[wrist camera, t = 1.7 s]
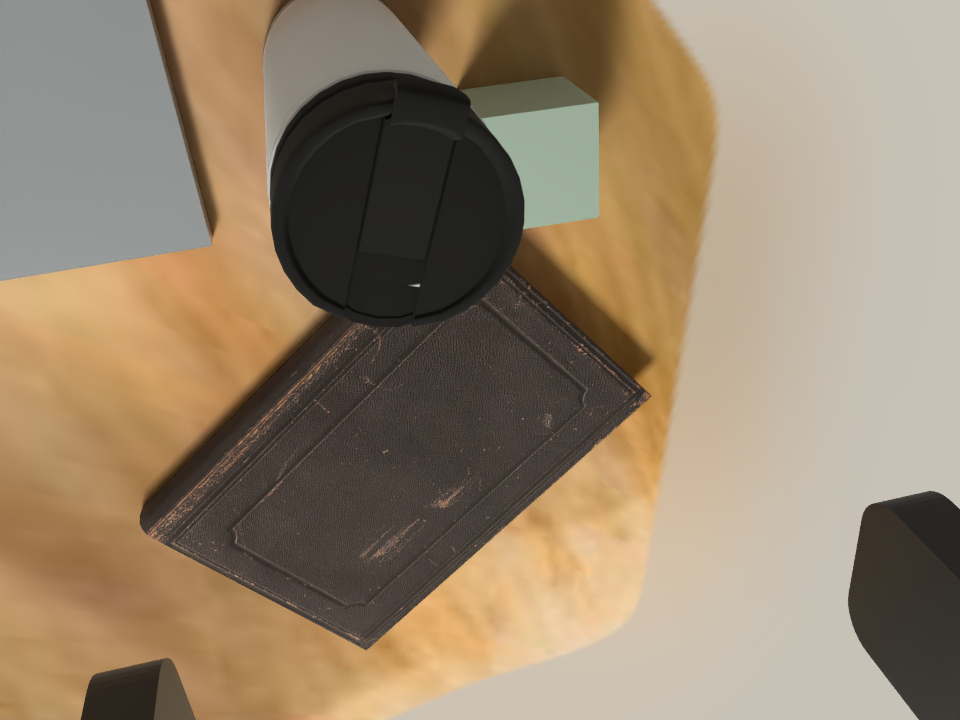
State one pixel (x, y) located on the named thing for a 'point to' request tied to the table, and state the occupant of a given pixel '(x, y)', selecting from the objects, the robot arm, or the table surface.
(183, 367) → the table surface
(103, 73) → the slate board
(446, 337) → the hardcover book
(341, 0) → the travel mug
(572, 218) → the sage block
